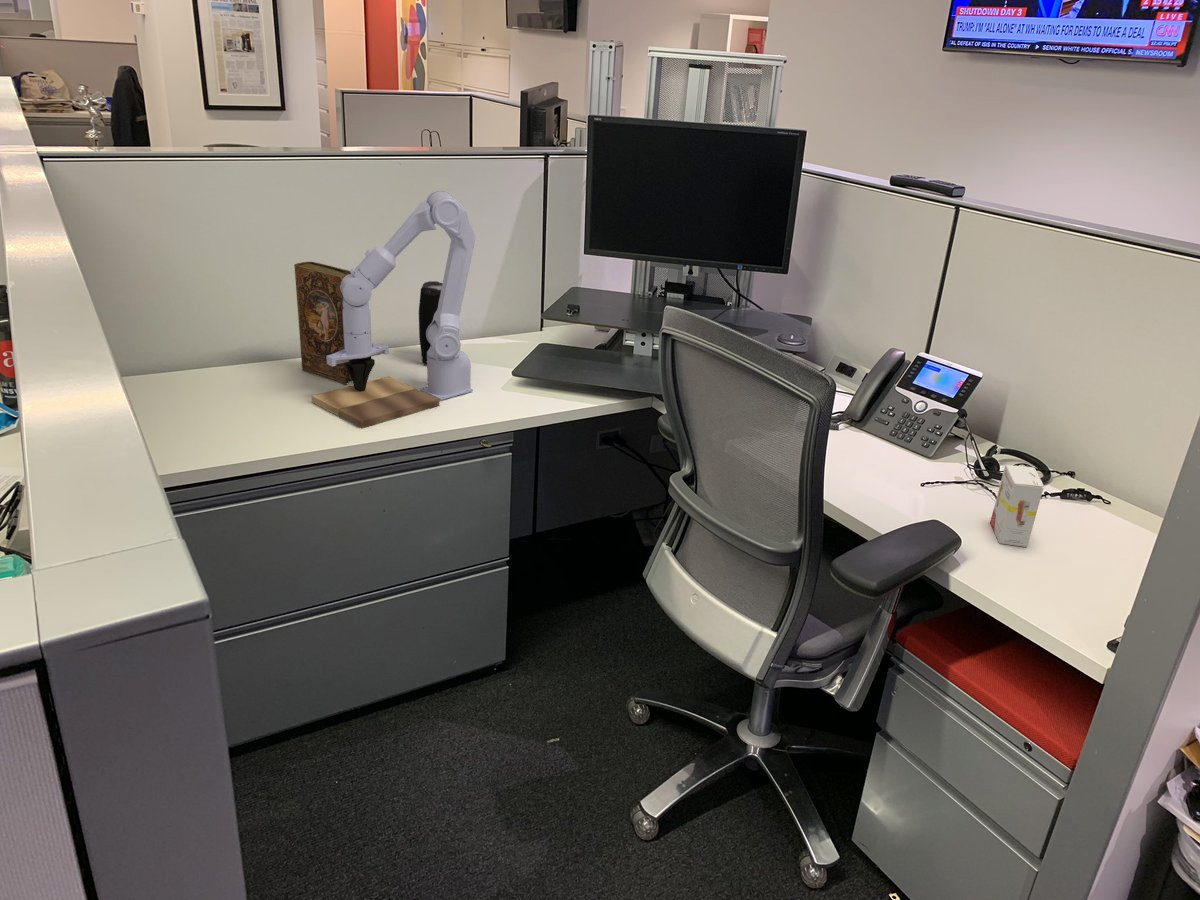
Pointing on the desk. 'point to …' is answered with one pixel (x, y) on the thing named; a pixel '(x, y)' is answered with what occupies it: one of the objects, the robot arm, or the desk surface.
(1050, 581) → the desk surface
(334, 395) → the oak plank
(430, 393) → the robot arm
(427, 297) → the portable speaker
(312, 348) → the book
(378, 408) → the walnut strip
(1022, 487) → the ink box
